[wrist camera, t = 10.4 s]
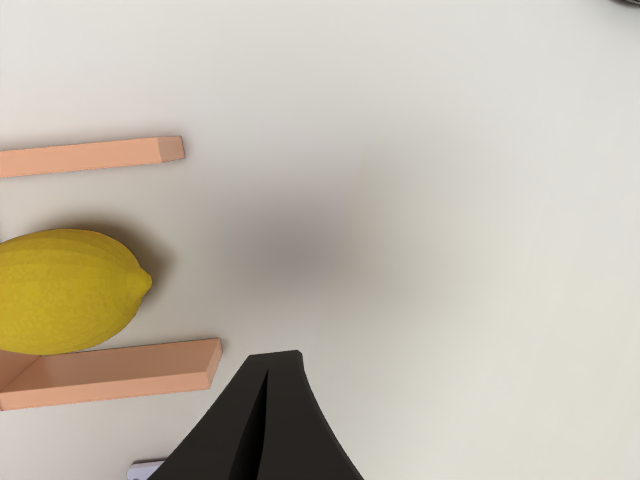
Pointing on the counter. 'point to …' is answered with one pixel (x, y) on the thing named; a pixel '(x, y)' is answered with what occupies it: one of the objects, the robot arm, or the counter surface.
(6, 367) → the terracotta bay
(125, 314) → the lemon
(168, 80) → the counter surface
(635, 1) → the supplement container
